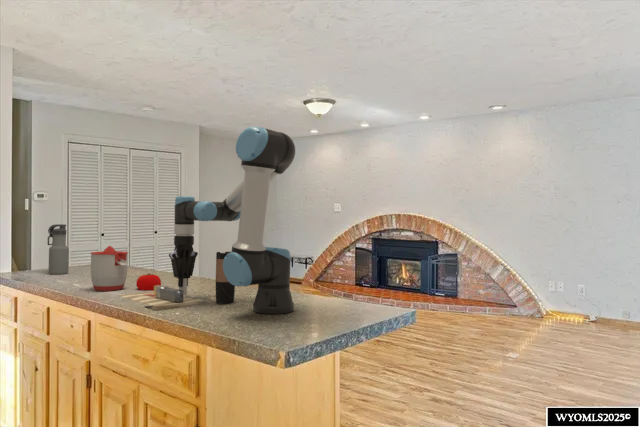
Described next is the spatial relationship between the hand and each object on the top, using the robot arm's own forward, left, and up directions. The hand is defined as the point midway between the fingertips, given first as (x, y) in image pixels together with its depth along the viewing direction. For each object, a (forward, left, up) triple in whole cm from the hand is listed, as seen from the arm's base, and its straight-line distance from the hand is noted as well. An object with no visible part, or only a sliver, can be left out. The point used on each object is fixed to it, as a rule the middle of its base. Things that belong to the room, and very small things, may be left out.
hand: (182, 294), depth 178 cm
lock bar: (+1, +5, -1) cm, 5 cm away
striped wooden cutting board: (+8, +6, -3) cm, 11 cm away
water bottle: (+122, +4, -3) cm, 123 cm away
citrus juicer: (+48, +7, -3) cm, 49 cm away
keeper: (+15, +2, -2) cm, 16 cm away
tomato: (+30, -2, -3) cm, 31 cm away
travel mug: (-12, -12, -3) cm, 17 cm away
